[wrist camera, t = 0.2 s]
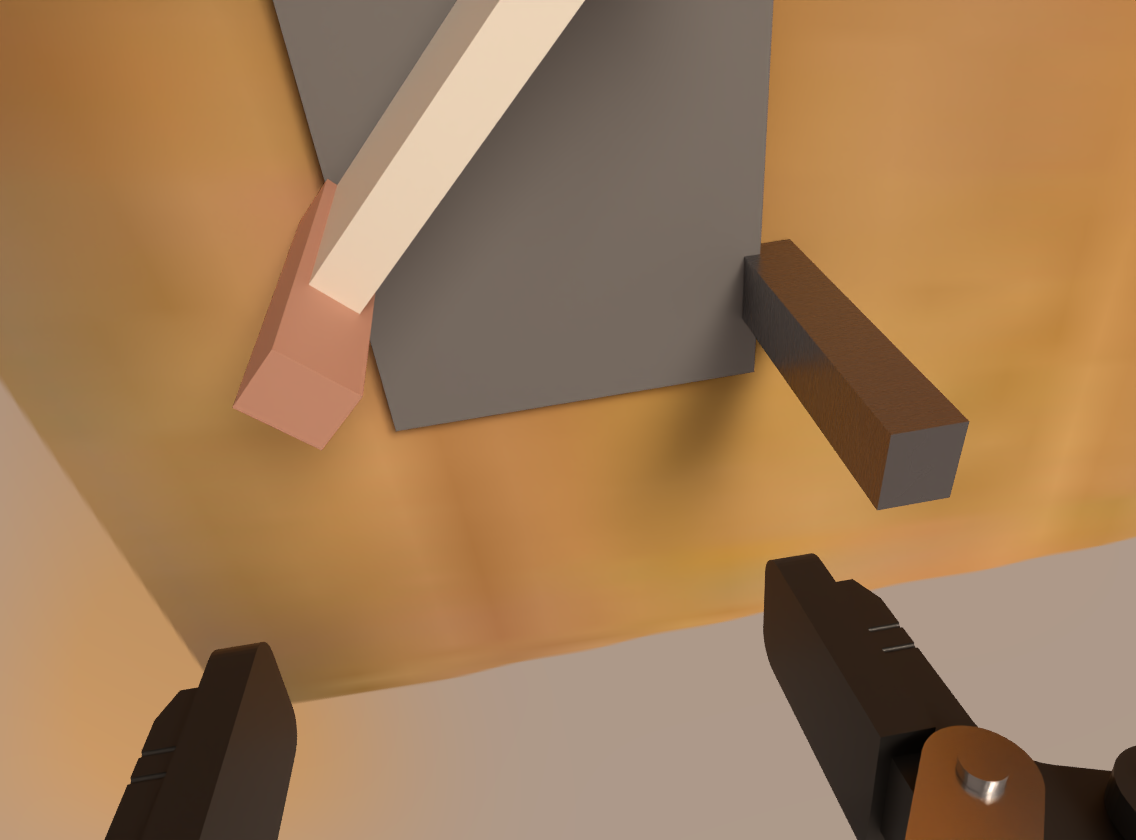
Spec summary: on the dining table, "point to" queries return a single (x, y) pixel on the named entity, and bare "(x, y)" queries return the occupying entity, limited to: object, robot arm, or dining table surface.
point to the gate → (386, 211)
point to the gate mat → (562, 203)
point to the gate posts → (852, 380)
